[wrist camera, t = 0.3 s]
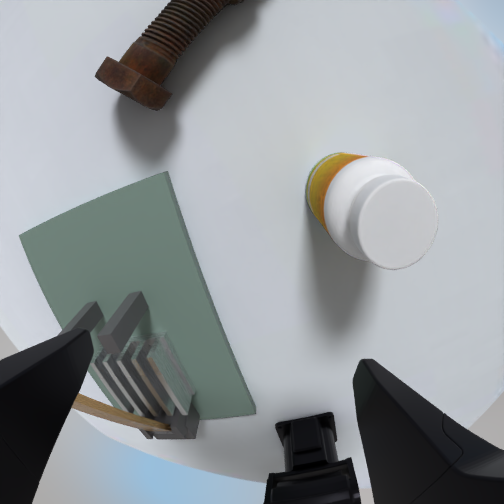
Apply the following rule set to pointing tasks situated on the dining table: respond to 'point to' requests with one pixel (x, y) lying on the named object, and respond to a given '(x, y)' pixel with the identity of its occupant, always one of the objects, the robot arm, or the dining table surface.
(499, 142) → the dining table surface
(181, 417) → the block
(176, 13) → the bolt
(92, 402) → the brown long flat bar
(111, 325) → the lug fork
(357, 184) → the supplement bottle
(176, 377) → the heatsink
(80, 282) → the board
